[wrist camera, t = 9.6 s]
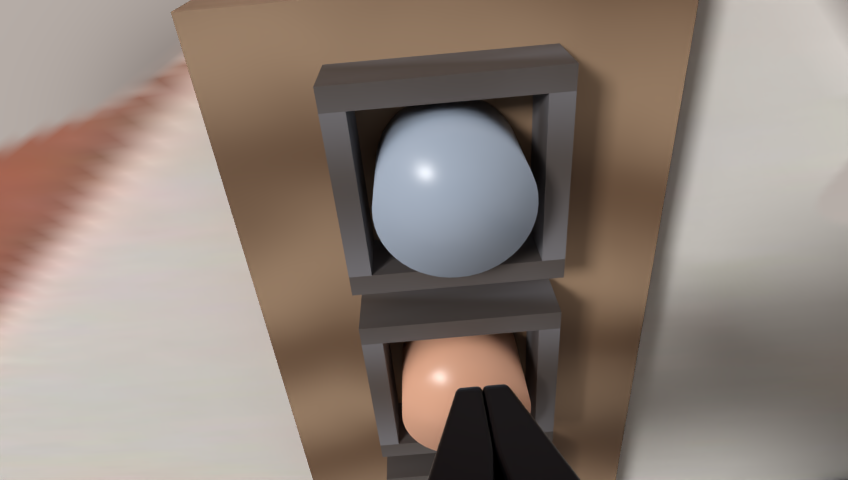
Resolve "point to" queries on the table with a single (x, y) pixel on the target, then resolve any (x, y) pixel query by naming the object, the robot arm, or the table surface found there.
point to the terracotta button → (454, 378)
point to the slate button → (452, 189)
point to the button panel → (354, 182)
